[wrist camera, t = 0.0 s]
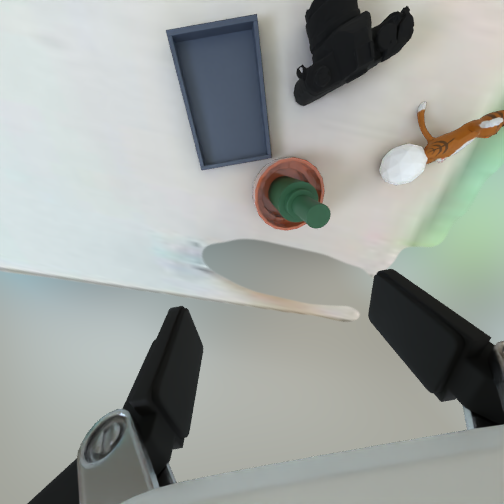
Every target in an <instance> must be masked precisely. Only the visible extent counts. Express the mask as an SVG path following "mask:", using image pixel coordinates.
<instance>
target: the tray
mask: <svg viewBox="0 0 504 504" xmlns="http://www.w3.org/2000/svg"><path fill="white" fill-rule="evenodd" d="M257 20H258V19H257V14H254V15H249V16H243V17H238V18H232V19H226V20H221V21H215V22H210V23H204V24H198V25H193V26H187V27H182V28H176V29H170V30H166V33H167V36H168V41H169V45H170V49H171V53H172V56H173V60H174V64H175V68H176V72H177V76H178V80H179V84H180V88H181V92H182V96H183V100H184V103H185V107H186V111H187V115H188V119H189V123H190V127H191V131H192V135H193V139H194V143H195V146H196V150H197V154H198V158H199V162H200V166H201V170H206V169H212V168H218V167H223V166H229V165H234V164H240V163H246V162H251V161H257V160H263V159H268V158H272V157H271V148H270V138H269V128H268V118H267V108H266V98H265V88H264V79H263V69H262V59H261V49H260V39H259V29H258V21H257Z"/></svg>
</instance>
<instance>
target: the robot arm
mask: <svg viewBox="0 0 504 504" xmlns="http://www.w3.org/2000/svg"><path fill="white" fill-rule="evenodd" d="M368 316H369V319H370V321H371V323H372V324H373V325H374V326H375V328H376V329H377V330H378V331H379V332H380V334H381V335H382V336H383V337H384V338H385V340H386V341H387V342H388V343H389V344H390V346H391V347H392V348H393V349H394V350H395V352H396V353H397V354H398V355H399V356H400V358H401V359H402V360H403V361H404V362H405V364H406V365H407V366H408V367H409V368H410V370H411V371H412V372H413V373H414V374H415V376H416V377H417V378H418V379H419V380H420V382H421V383H422V384H423V385H424V387H425V388H426V389H427V390H428V391H429V392H431V393H434V394H435V395H436V396H437V397H438V399H439V400H440V401H441V402H443V401H449V400H455V399H456V398H457V400H458V401H459V402H460V403H461V404H462V405H463V409H464V415H465V421H466V425H467V430H463V431H458V432H452V433H447V434H441V435H435V436H429V437H423V438H417V439H411V440H405V441H399V442H393V443H388V444H382V445H377V446H371V447H365V448H359V449H354V450H348V451H342V452H337V453H331V454H326V455H320V456H314V457H309V458H303V459H298V460H293V461H286V462H281V463H276V464H270V465H265V466H259V467H254V468H249V469H243V470H237V471H232V472H226V473H222V474H217V475H212V476H207V477H202V478H197V479H192V480H187V481H183V482H178V483H177V482H176V480H175V477H174V475H173V472H172V470H171V467H170V465H169V461H170V458H171V453H172V449H178V448H183V443H184V438H185V437H187V436H188V434H189V430H190V424H191V419H192V413H193V407H194V401H195V395H196V390H197V384H198V378H199V371H200V366H201V360H202V354H203V345H202V342H201V340H200V337H199V335H198V332H197V330H196V327H195V325H194V323H193V320H192V318H191V315H190V313H189V310H188V309H187V308H184V307H183V306H179V307H174V308H170V310H169V311H168V314H167V316H166V318H165V320H164V323H163V325H162V327H161V330H160V332H159V334H158V336H157V339H156V340H154V341H153V343H152V345H151V347H150V349H149V352H148V354H147V356H146V358H145V360H144V363H143V365H142V367H141V369H140V371H139V374H138V376H137V378H136V380H135V383H134V385H133V387H132V389H131V391H130V393H129V396H128V398H127V401H126V402H125V404H124V407H123V409H117V410H114V411H112V412H110V413H108V414H106V415H105V416H103V417H102V418H101V419H100V420H99V421H98V422H97V423H95V424H94V426H93V427H92V428H91V429H90V430H89V432H88V433H87V434H86V436H85V438H84V440H83V441H82V443H81V446H80V448H79V451H78V456H77V459H76V460H75V461H74V462H72V463H71V464H70V465H69V466H68V467H67V468H66V469H65V470H64V471H63V472H61V473H60V474H59V475H58V476H57V477H56V478H55V479H54V480H53V481H52V482H51V483H49V484H48V485H47V486H46V487H45V488H44V489H43V490H42V491H41V492H40V493H38V494H37V495H36V496H35V497H34V498H33V499H32V500H31V501H30V502H29V503H28V504H504V341H501V342H498V343H497V344H496V345H493V344H492V343H490V342H489V340H490V339H491V337H490V336H488V335H487V334H485V333H484V332H483V331H481V330H479V329H478V328H477V327H475V326H474V325H472V324H471V323H470V322H468V321H467V320H465V319H464V318H462V317H461V316H459V315H458V314H456V313H455V312H454V311H452V310H451V309H449V308H448V307H446V306H445V305H444V304H442V303H441V302H439V301H438V300H437V299H435V298H434V297H432V296H431V295H429V294H428V293H427V292H425V291H424V290H422V289H421V288H419V287H418V286H416V285H415V284H413V283H412V282H411V281H409V280H408V279H406V278H405V277H404V276H402V275H401V274H399V273H398V272H396V271H395V270H393V269H388V270H382V271H378V272H377V275H375V276H374V281H373V288H372V294H371V301H370V307H369V315H368Z"/></svg>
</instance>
